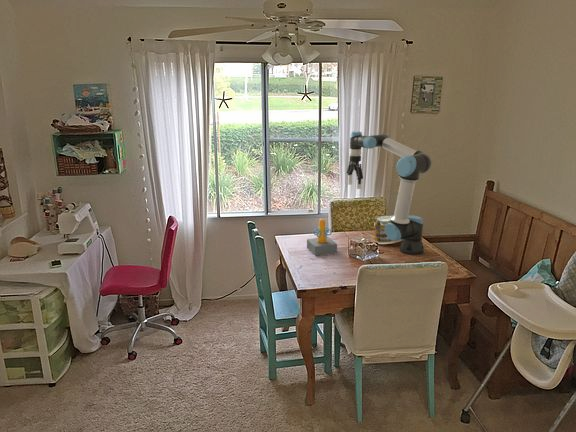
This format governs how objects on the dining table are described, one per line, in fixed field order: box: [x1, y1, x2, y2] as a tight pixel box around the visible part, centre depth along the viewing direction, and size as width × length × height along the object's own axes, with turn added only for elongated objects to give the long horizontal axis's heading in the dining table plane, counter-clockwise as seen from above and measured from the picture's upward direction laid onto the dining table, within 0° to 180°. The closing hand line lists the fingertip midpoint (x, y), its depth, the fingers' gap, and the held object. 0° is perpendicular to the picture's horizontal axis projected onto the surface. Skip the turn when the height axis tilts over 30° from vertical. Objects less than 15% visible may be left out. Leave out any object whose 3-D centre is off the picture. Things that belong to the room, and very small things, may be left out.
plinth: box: [306, 236, 338, 256], centre depth 318 cm, size 15×15×6 cm
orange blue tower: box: [312, 218, 333, 243], centre depth 315 cm, size 12×10×15 cm
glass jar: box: [372, 215, 403, 245], centre depth 334 cm, size 25×25×17 cm
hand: (354, 186), depth 331 cm, fingers open, 13 cm apart
